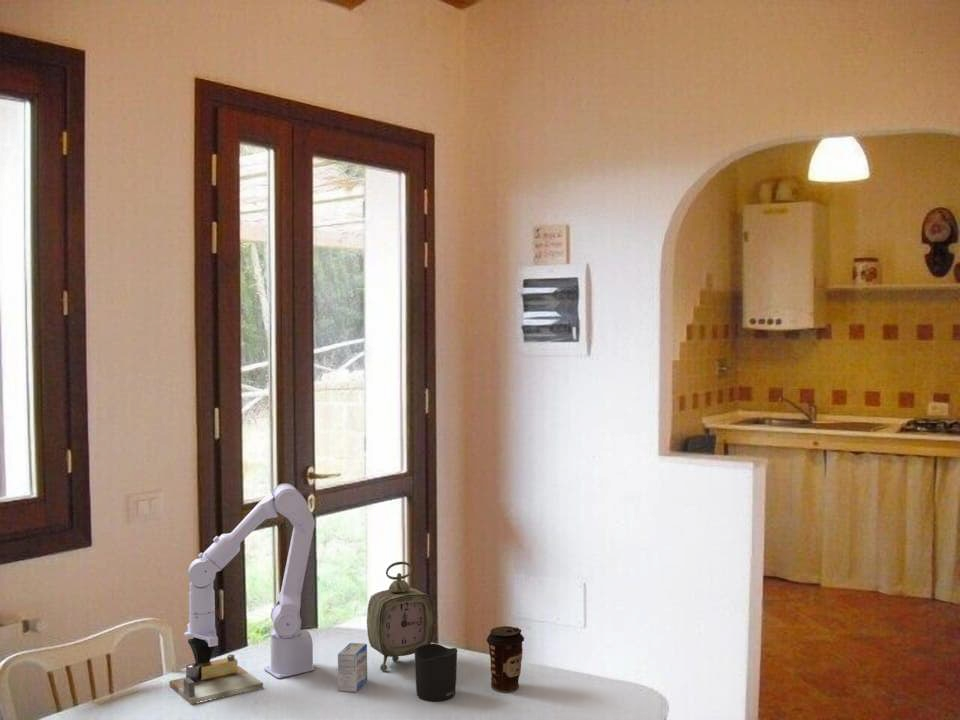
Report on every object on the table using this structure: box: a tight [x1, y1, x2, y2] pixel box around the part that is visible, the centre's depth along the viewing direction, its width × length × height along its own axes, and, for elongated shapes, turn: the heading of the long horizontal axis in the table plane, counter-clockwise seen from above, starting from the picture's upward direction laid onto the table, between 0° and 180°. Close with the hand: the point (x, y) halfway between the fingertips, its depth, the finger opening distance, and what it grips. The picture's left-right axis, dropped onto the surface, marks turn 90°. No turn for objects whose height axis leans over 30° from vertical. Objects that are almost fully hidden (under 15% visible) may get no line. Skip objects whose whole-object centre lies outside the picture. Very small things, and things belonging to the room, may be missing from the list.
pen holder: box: [414, 643, 458, 702], centre depth 210 cm, size 9×9×10 cm
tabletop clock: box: [366, 561, 435, 672], centre depth 230 cm, size 14×9×25 cm, turn 120°
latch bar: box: [185, 654, 238, 682], centre depth 218 cm, size 12×3×4 cm, turn 127°
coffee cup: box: [486, 625, 525, 693], centre depth 214 cm, size 9×8×13 cm
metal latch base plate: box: [169, 665, 264, 705], centre depth 215 cm, size 16×14×4 cm
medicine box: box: [337, 642, 368, 693], centre depth 216 cm, size 8×4×9 cm, turn 168°
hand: (202, 669), depth 220 cm, fingers closed
